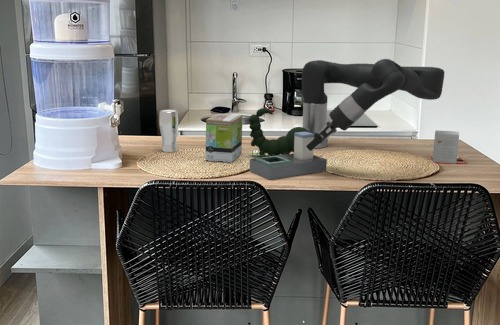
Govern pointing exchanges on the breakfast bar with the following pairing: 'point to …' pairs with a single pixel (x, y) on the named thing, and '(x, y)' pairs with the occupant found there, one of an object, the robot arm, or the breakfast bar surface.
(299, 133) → the plug
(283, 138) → the toy figurine
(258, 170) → the panel
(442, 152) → the small box
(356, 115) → the robot arm
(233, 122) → the tea box
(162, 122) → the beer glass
